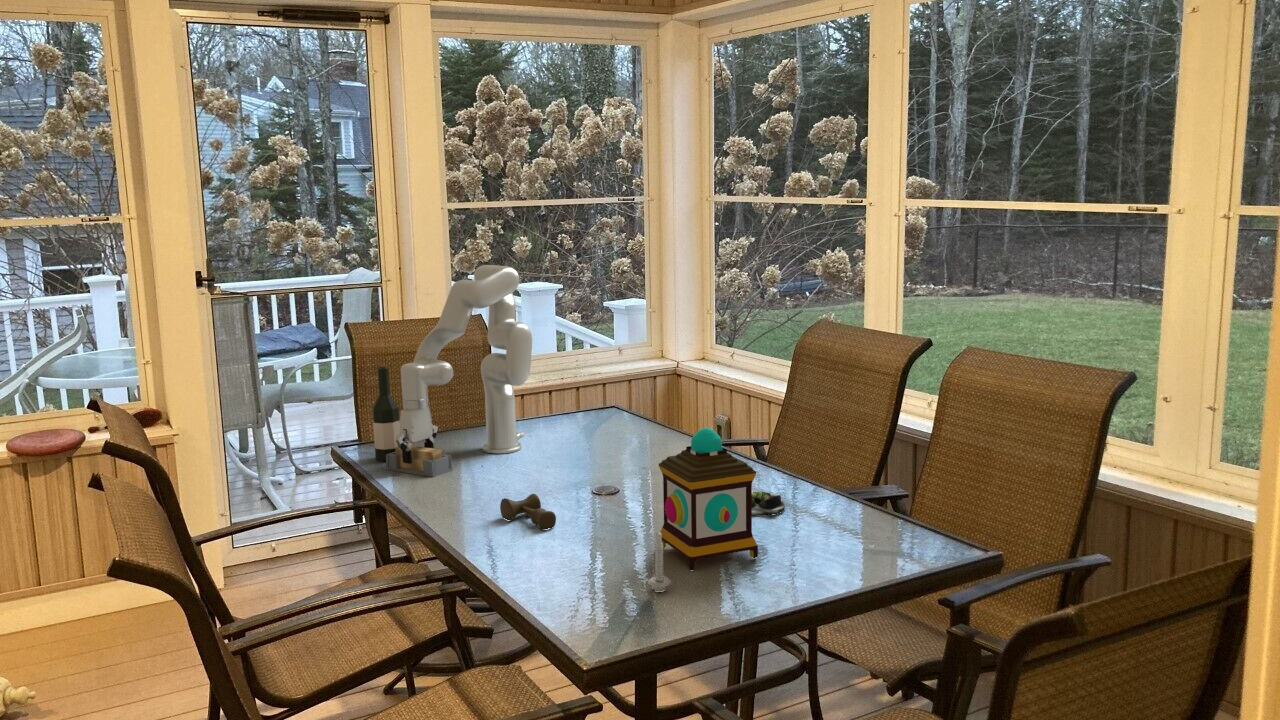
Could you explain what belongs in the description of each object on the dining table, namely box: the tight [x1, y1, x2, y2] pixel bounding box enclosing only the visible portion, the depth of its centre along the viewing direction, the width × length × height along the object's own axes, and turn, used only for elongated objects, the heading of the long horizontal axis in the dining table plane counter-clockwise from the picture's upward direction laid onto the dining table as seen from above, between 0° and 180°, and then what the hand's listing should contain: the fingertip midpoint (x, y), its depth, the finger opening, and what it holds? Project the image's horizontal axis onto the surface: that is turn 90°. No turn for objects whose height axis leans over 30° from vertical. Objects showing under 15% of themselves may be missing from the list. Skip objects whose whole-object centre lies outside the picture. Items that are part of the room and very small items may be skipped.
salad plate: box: [752, 490, 786, 516], centre depth 272 cm, size 19×18×5 cm
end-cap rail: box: [385, 452, 453, 478], centre depth 315 cm, size 19×8×5 cm, turn 59°
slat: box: [395, 444, 443, 471], centre depth 315 cm, size 15×4×6 cm, turn 60°
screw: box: [647, 531, 672, 591], centre depth 217 cm, size 13×5×5 cm
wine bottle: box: [371, 364, 400, 463], centre depth 326 cm, size 8×8×30 cm
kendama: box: [499, 493, 557, 530], centre depth 265 cm, size 6×10×20 cm
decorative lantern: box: [658, 427, 759, 571], centre depth 237 cm, size 20×20×30 cm
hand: (418, 459), depth 315 cm, fingers open, 9 cm apart
